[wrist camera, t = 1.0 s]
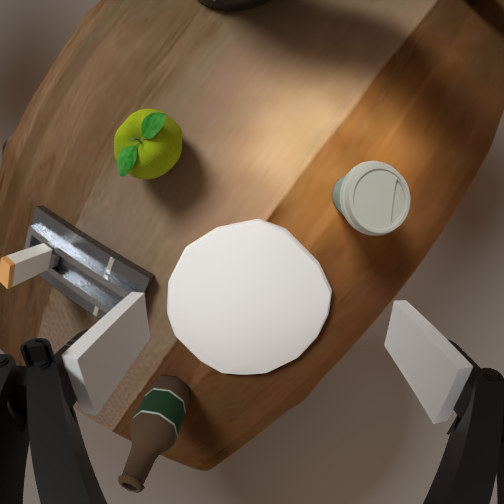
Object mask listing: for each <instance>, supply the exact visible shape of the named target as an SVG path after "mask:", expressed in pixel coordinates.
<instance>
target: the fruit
mask: <svg viewBox="0 0 504 504" xmlns="http://www.w3.org/2000/svg"><path fill="white" fill-rule="evenodd" d="M181 151H182V130H181V128H180V126H179V125H178V124H177V123H176V122H175V121H174V120H173V119H172V118H170V117H169V116H168V115H167V114H165V113H164V112H162V111H159V110H156V109H142V110H138V111H136V112H134V113H132V114H131V115H130V116H129V117H128V118H127V119H126V120H125V122H124V123H123V124H122V125H121V126H120V127H119V129H118V130H117V132H116V134H115V138H114V155H115V159H116V161H117V169H118V173H119V175H120V176H125V175H126V174H127V173H129V174H130V175H132V176H133V177H135V178H138V179H154V178H157V177H160V176H162V175H163V174H165V173H166V172H168V171H169V170H170V169H171V168H172V167H173V166H174V165H175V164H176V162H177V161H178V159H179V157H180V155H181Z"/></svg>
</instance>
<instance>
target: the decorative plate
mask: <svg viewBox="0 0 504 504" xmlns="http://www.w3.org/2000/svg"><path fill="white" fill-rule="evenodd" d="M331 293H332V289H331V287H330V285H329V283H328V281H327V278H326V276H325V274H324V272H323V270H322V268H321V266H320V264H319V262H318V261H317V260H316V259H315V258H314V257H313V256H312V254H311V253H310V252H309V251H308V250H307V249H306V248H305V247H304V246H303V245H302V244H301V243H300V242H299V241H298V240H297V239H296V238H295V237H294V236H293V235H292V234H291V233H290V232H289V231H288V230H287V229H286V228H284V227H281V226H278V225H275V224H273V223H270V222H267V221H264V220H261V219H255V220H250V221H245V222H240V223H235V224H230V225H225V226H220V227H217V228H215V229H214V230H212V231H210V232H209V233H207V234H206V235H204V236H202V237H201V238H199V239H198V240H196V241H194V242H193V243H191V244H190V245H188V246H187V247H186V248H185V250H184V251H183V253H182V255H181V257H180V259H179V261H178V263H177V265H176V267H175V269H174V271H173V273H172V275H171V277H170V279H169V281H168V302H167V314H168V317H169V320H170V323H171V326H172V329H173V332H174V334H175V336H176V337H177V338H178V339H179V340H180V341H181V342H182V343H183V344H184V345H185V346H186V347H187V348H188V349H189V350H190V351H191V352H192V353H193V354H194V355H195V356H196V357H197V358H198V359H199V360H200V361H202V362H203V363H205V364H207V365H209V366H210V367H212V368H214V369H216V370H218V371H219V372H221V373H228V374H241V375H247V374H262V373H267V372H270V371H272V370H274V369H276V368H278V367H280V366H282V365H284V364H286V363H288V362H290V361H292V360H294V359H296V358H298V357H299V356H300V355H301V354H302V353H303V352H304V351H305V350H306V349H307V348H308V346H309V345H310V344H311V343H312V342H313V341H314V340H315V339H316V338H317V336H318V334H319V333H320V331H321V329H322V327H323V324H324V322H325V320H326V318H327V316H328V314H329V308H330V301H331Z"/></svg>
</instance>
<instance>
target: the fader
mask: <svg viewBox="0 0 504 504" xmlns="http://www.w3.org/2000/svg"><path fill="white" fill-rule="evenodd" d="M59 258H60V255H58V254H57V253H55V252H54V251H53V250H52V249H51V248H50V247H48V246H47V245H46V244H44V243H42V244H39V245H36V246H33V247H30V248H27V249H24V250H22V251H19V252H16V253H13V254H10V255H7V256H5V257H2V258H1V263H0V282H1V283H2V284H3V285H4V286H5V287H6V288H7V289H9V288H11V287H13V286H15V285H17V284H19V283H21V282H23V281H25V280H27V279H29V278H31V277H34V276H36V275H38V274H40V273H42V272H44V271H46V270H48V268H49V266H50V267H51V268H53V267H56V266H58V262H59Z"/></svg>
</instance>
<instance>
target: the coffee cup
mask: <svg viewBox="0 0 504 504" xmlns="http://www.w3.org/2000/svg"><path fill="white" fill-rule="evenodd" d="M332 200H333V203H334V205H335V207H336V208H337V209H338V210H339V211H340V212H341V213H342V214H343V215H344V216H345V218H346V220H347V221H348V223H349V224H350V225H351V226H352V227H353V228H354V229H356V230H357V231H359V232H361V233H363V234H366V235H371V236H379V235H384V234H387V233H390V232H392V231H393V230H395V229H396V228H397V227H399V226H400V225H401V224H402V223H403V221H404V220H405V218H406V216H407V214H408V212H409V208H410V192H409V188H408V185H407V183H406V181H405V180H404V178H403V177H402V176H401V175H400V173H399V172H398V171H397V170H396V169H394V168H393V167H392V166H390V165H388V164H386V163H382V162H379V161H367V162H363V163H360V164H358V165H357V166H355V167H354V168H353V169H351V170H350V171H349V173H348V174H347V175H345V176H343V177H342V178H340V179H339V180H338V181H337V182H336V183H335V185H334V187H333V190H332Z"/></svg>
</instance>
